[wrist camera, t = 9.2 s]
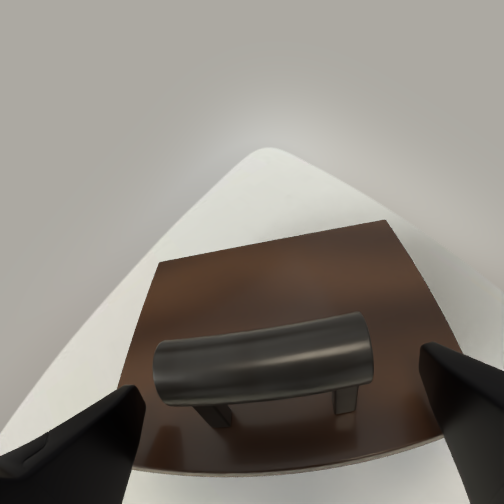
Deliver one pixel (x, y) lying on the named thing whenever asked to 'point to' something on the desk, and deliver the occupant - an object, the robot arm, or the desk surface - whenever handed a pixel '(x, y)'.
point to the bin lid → (285, 356)
